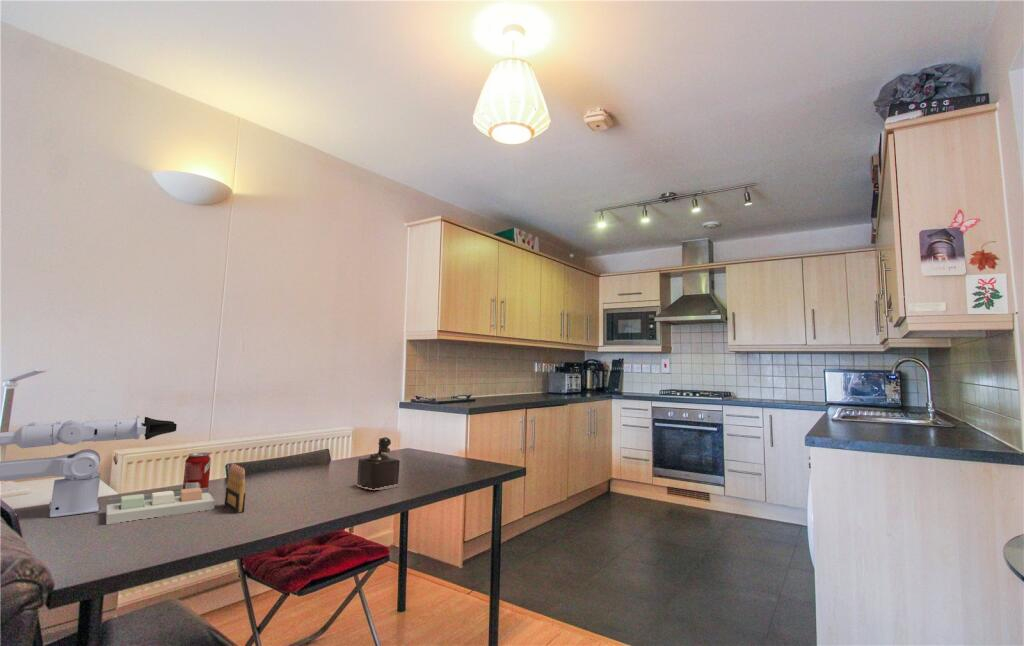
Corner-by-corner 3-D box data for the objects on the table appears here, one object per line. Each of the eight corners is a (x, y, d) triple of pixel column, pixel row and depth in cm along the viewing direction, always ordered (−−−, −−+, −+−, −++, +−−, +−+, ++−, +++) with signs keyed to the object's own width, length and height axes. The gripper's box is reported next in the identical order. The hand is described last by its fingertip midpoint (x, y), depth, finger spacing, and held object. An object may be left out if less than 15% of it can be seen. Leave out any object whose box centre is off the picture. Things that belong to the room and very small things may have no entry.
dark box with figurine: (354, 486, 162) (357, 433, 164) (381, 482, 171) (384, 431, 173) (379, 495, 152) (383, 438, 154) (408, 489, 161) (410, 436, 163)
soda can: (198, 496, 145) (202, 456, 146) (176, 495, 145) (180, 455, 146) (212, 490, 152) (216, 452, 153) (192, 489, 152) (195, 451, 153)
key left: (120, 513, 122) (122, 500, 122) (119, 508, 125) (121, 496, 126) (143, 510, 125) (144, 497, 125) (141, 506, 128) (143, 493, 129)
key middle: (152, 508, 126) (153, 496, 126) (150, 504, 130) (151, 492, 130) (173, 506, 129) (174, 494, 130) (171, 502, 133) (172, 490, 133)
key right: (181, 505, 130) (182, 493, 131) (179, 501, 134) (180, 489, 134) (201, 502, 133) (202, 490, 134) (198, 498, 137) (199, 487, 137)
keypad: (106, 524, 117) (108, 509, 118) (105, 513, 126) (107, 499, 127) (214, 509, 132) (215, 496, 133) (206, 499, 141) (208, 487, 142)
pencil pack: (244, 512, 131) (248, 467, 132) (236, 513, 129) (240, 468, 131) (231, 504, 138) (235, 462, 139) (224, 505, 137) (228, 462, 138)
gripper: (117, 417, 128) (178, 414, 137) (117, 413, 139) (173, 411, 148) (115, 443, 127) (176, 439, 136) (114, 438, 138) (171, 434, 147)
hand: (175, 426), depth 142 cm, fingers open, 7 cm apart
